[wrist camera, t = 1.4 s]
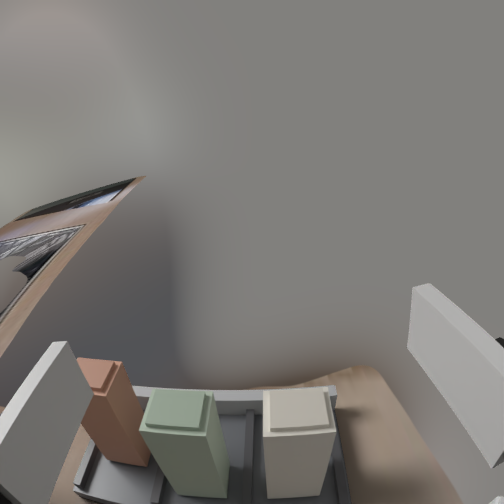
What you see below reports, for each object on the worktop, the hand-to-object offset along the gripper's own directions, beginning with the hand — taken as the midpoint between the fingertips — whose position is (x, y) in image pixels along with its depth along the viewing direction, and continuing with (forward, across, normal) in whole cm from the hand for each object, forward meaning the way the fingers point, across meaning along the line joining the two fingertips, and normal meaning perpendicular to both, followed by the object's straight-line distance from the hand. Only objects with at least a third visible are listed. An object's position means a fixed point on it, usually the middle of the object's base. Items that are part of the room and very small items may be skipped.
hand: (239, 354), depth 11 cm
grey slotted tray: (+10, -7, -21) cm, 24 cm away
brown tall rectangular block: (+10, -14, -19) cm, 26 cm away
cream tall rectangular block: (+6, +1, -20) cm, 21 cm away
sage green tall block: (+7, -7, -20) cm, 22 cm away
